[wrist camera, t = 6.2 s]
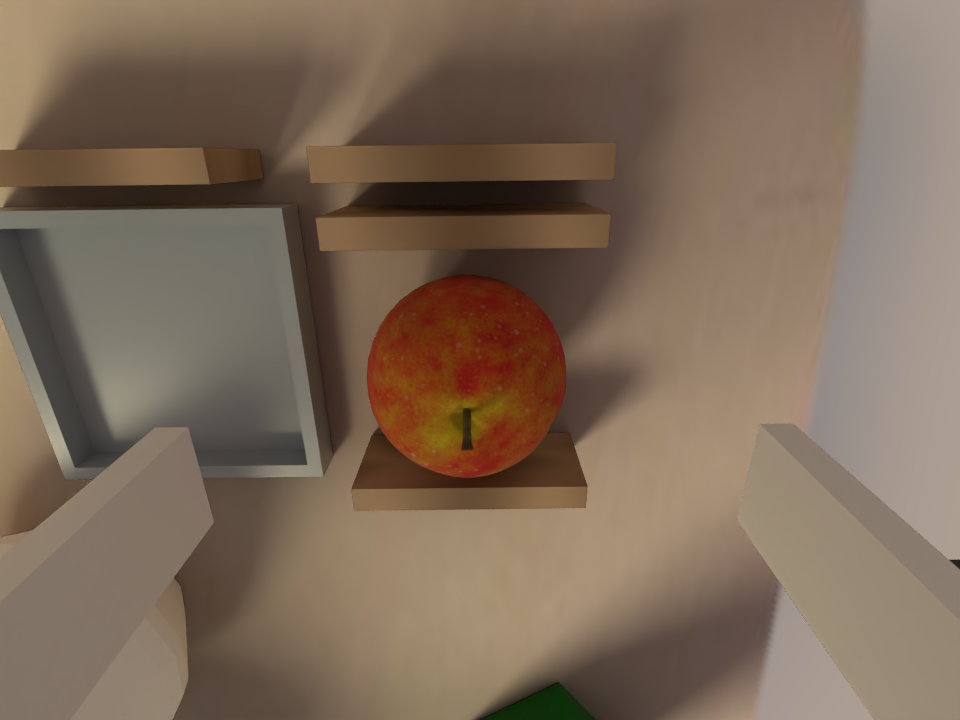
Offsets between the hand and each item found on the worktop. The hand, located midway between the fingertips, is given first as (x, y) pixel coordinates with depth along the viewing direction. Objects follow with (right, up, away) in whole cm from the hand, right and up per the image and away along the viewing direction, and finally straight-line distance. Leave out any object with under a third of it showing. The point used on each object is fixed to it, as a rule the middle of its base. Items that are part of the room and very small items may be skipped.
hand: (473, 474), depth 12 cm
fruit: (0, +4, +9) cm, 10 cm away
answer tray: (-12, +3, +9) cm, 16 cm away
